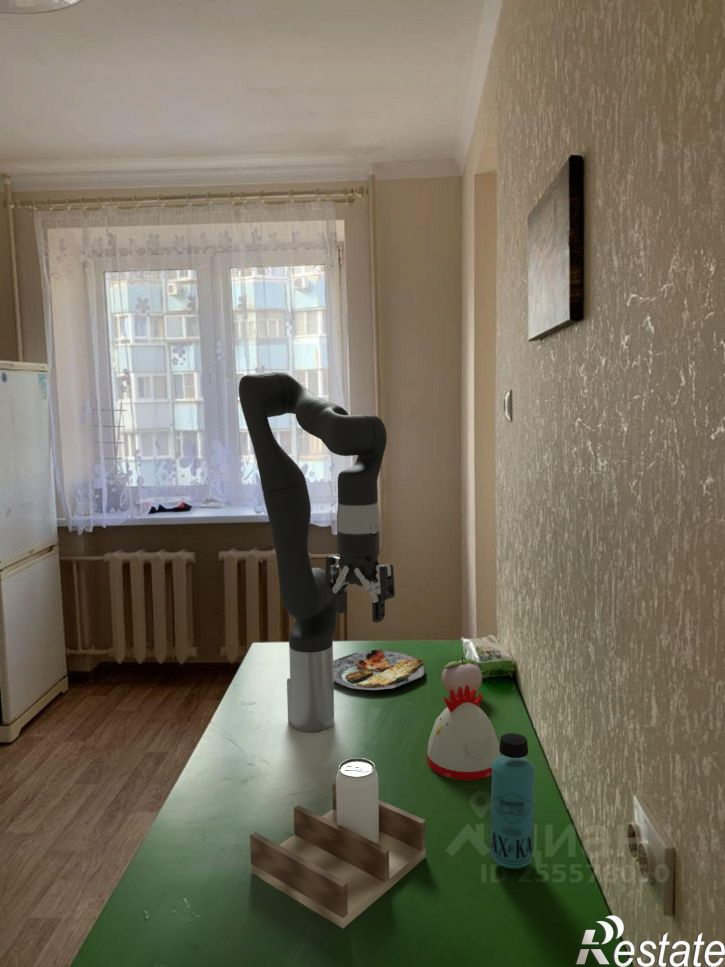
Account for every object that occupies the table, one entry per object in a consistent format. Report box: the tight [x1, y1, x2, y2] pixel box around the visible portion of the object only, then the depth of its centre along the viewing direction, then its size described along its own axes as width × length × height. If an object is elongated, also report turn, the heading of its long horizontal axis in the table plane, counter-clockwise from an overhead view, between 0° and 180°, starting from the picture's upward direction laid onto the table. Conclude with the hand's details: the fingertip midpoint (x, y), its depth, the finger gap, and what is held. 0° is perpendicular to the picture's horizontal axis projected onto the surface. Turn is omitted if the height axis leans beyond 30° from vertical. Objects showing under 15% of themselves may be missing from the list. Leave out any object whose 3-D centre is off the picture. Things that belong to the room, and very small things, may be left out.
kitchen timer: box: [426, 685, 501, 781], centre depth 138 cm, size 14×14×15 cm
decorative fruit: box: [441, 656, 483, 697], centre depth 166 cm, size 9×8×10 cm
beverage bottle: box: [488, 732, 536, 869], centre depth 107 cm, size 6×7×20 cm
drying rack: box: [249, 781, 427, 929], centre depth 108 cm, size 18×19×6 cm
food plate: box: [333, 648, 426, 692], centre depth 182 cm, size 25×23×4 cm
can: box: [335, 757, 380, 843], centre depth 112 cm, size 6×6×12 cm
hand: (359, 616), depth 131 cm, fingers open, 8 cm apart
